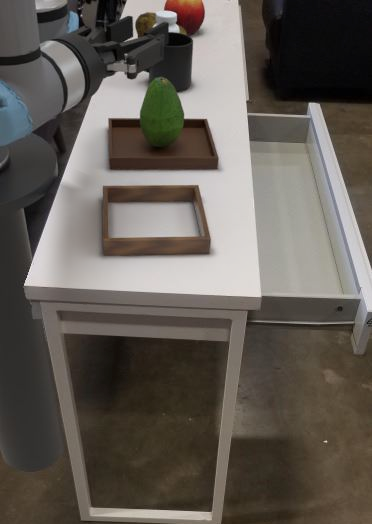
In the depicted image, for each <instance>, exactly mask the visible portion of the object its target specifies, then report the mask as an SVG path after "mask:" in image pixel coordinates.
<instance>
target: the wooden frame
mask: <svg viewBox="0 0 372 524" xmlns="http://www.w3.org/2000/svg"><path fill="white" fill-rule="evenodd" d="M141 202H142V203H143V202H144V203H145V202H146V203H147V202H148V203H151V202H155V203H156V202H193V206H194V211H195V215H196V220H197V224H198V229H199V234H200V236H196V235H195V236H144V237H143V236H140V237H139V236H137V237H136V236H135V237H133V236H132V237H110V219H109V218H110V211H109V209H110V208H109V207H110V206H109V203H141ZM204 207H205V206H204V202H203V198H202V195H201V190H200V185H199V184H168V185H167V184H162V185H159V184H157V185H156V184H155V185H154V184H153V185H152V184H151V185H146V184H145V185H141V184H139V185H102V242H103V243H102V245H103V255H104V256H128V255H129V256H133V255H134V256H136V255H137V256H138V255H139V256H141V255H142V256H143V255H191V254H192V255H193V254H196V255H197V254H210V253H211V242H212V238H211V233H210V229H209V225H208V220H207V216H206V211H205V208H204Z"/></svg>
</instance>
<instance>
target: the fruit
mask: <svg viewBox="0 0 372 524" xmlns="http://www.w3.org/2000/svg"><path fill="white" fill-rule="evenodd" d="M205 8H206V7H205V4H204V1H203V0H165V3H164V7H163V11H172V12H175V13H176V14H177V22H176V24H177V25H179V26H181V27H182V28H184V29H185V31H186V32H187V35H188V36H189V35H194V34H195V33H197V32H198V31H199V30H200V28H201V27H202V26H203V23H204V21H205V17H206V15H205V14H206V9H205Z"/></svg>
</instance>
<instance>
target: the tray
mask: <svg viewBox="0 0 372 524" xmlns="http://www.w3.org/2000/svg"><path fill="white" fill-rule="evenodd" d="M107 120H108V121H107V123H108V124H107V125H108V156H109V157H108V160H109V170H218V167H219V159H220V158H219V155H218V151H217V148H216V145H215V141H214V138H213V135H212V131H211V127H210V124H209V121H208V118H184V125H183V128H182V130H181V133H180V135H179V137H178V138H177V140H176V141H174V142H173V143H172V144H170V145H169V146H166V147H162V148H160V147H154V146H153V145H151V144H149V143H148V141H147V140H146V138H145V136H144V135H143V133H142V129H141V125H140V117H136V118H135V117H133V118H132V117H108V118H107Z"/></svg>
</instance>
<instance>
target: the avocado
mask: <svg viewBox="0 0 372 524" xmlns="http://www.w3.org/2000/svg"><path fill="white" fill-rule="evenodd" d="M139 118H140V125H141V129H142V133H143V135H144V136H145V138H146V140H147V141H148V143H149V144H151V145H153V146H154V147H160V148H162V147H166V146H169V145H170V144H172V143H173V142H174V141H176V140H177V138H178V137H179V135H180V133H181V130H182V128H183V125H184V119H185V111H184V108H183V105H182V102H181V99H180V96H179V94H178V91H176V90H175V88H174V86H173V85H172V83H171V82H170V81H169V80H168V79H166V78H163V77H158V78H155V79H154V80H153V81H152V82H151V83H149V84H148V86H147V88H146V91H145V94H144V98H143V101H142V104H141V107H140V111H139Z"/></svg>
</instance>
